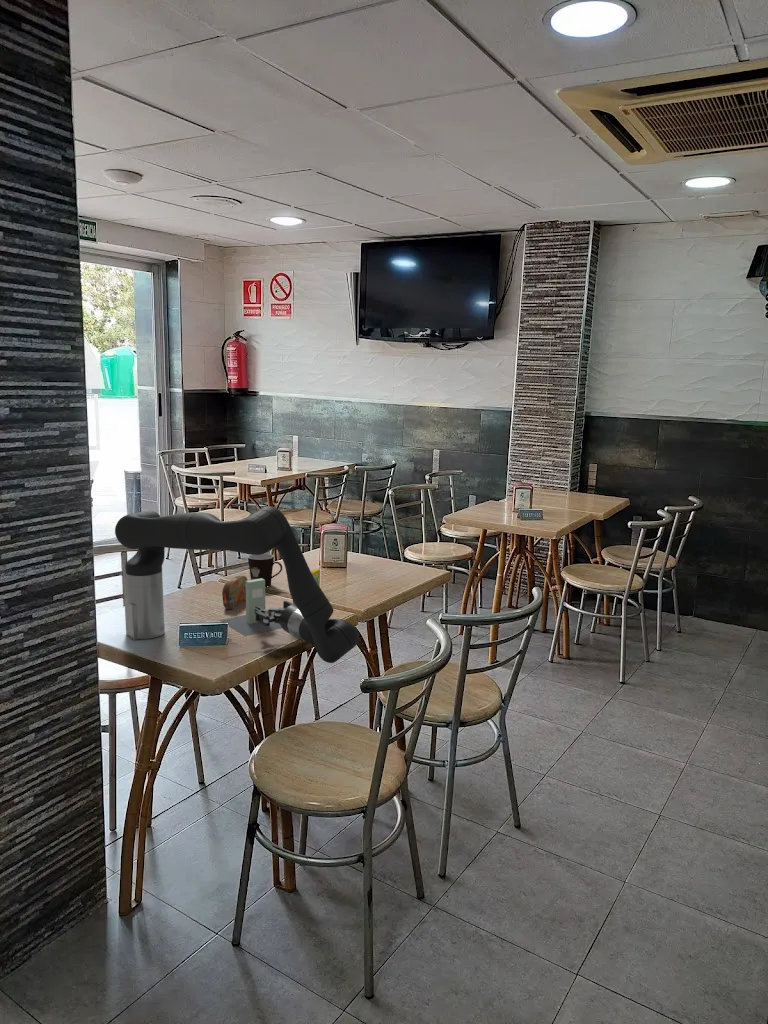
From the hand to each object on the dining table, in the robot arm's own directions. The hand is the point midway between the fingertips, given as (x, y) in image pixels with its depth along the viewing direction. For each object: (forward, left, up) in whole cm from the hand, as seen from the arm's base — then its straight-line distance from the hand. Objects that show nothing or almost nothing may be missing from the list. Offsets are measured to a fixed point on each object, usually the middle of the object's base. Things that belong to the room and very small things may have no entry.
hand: (270, 606), depth 198 cm
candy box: (+24, +21, -8) cm, 33 cm away
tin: (+3, +28, -7) cm, 29 cm away
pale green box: (0, +9, -7) cm, 11 cm away
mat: (+5, +8, -7) cm, 12 cm away
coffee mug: (+20, +42, -7) cm, 47 cm away
